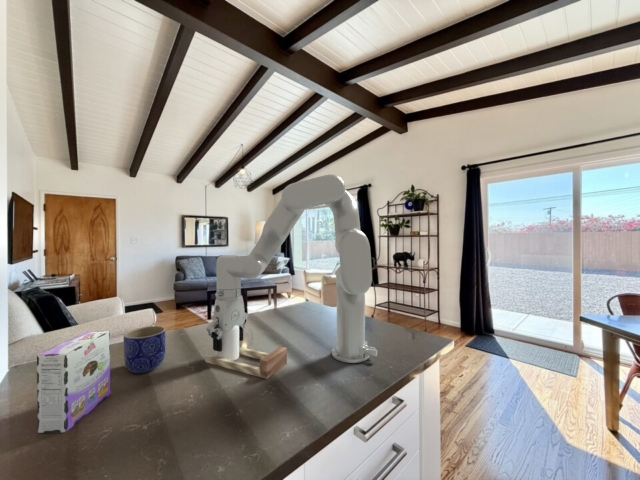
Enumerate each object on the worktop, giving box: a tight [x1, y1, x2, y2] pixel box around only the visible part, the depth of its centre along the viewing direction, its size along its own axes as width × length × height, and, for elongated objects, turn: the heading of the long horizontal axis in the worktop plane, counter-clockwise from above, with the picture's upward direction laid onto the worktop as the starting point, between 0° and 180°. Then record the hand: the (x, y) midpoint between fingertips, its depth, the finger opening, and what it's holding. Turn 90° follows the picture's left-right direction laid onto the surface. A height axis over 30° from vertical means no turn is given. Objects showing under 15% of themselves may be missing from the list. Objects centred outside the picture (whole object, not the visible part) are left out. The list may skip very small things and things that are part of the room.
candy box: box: [36, 330, 112, 434], centre depth 64 cm, size 14×6×16 cm, turn 4°
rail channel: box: [204, 346, 288, 380], centre depth 88 cm, size 24×10×5 cm, turn 64°
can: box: [217, 325, 240, 361], centre depth 91 cm, size 6×6×12 cm
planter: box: [123, 325, 167, 374], centre depth 85 cm, size 11×11×11 cm
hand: (228, 345), depth 91 cm, fingers open, 9 cm apart
